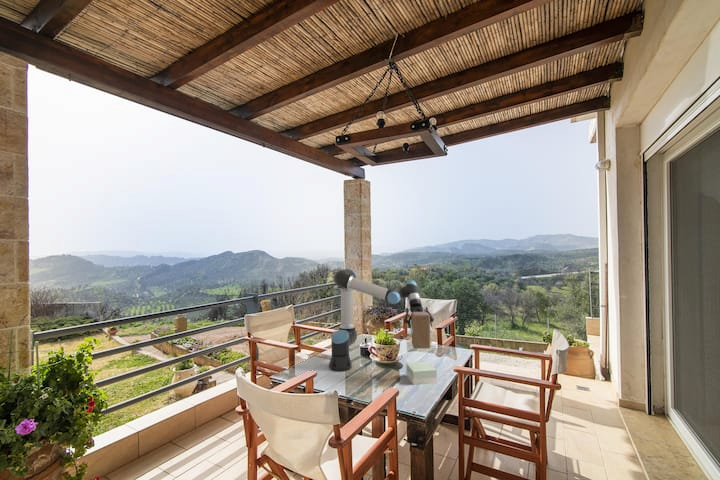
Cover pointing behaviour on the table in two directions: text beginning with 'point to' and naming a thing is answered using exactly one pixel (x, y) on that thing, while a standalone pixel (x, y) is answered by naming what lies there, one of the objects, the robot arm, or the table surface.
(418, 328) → the wooden block
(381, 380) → the table surface
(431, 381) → the tower base slab
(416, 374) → the tower top slab
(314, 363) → the table surface
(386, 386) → the table surface
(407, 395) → the table surface
